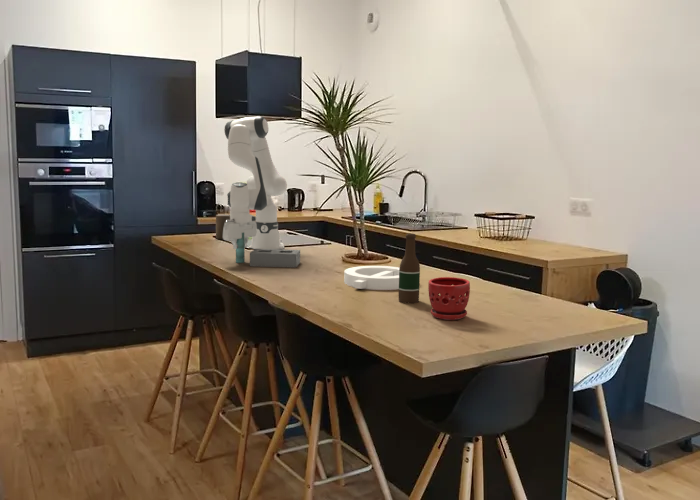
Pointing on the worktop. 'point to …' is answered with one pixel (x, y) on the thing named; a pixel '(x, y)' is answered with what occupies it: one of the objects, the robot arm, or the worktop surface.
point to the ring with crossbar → (372, 277)
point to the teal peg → (240, 250)
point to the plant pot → (449, 297)
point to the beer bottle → (409, 273)
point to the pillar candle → (220, 225)
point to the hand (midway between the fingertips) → (240, 248)
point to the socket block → (274, 258)
